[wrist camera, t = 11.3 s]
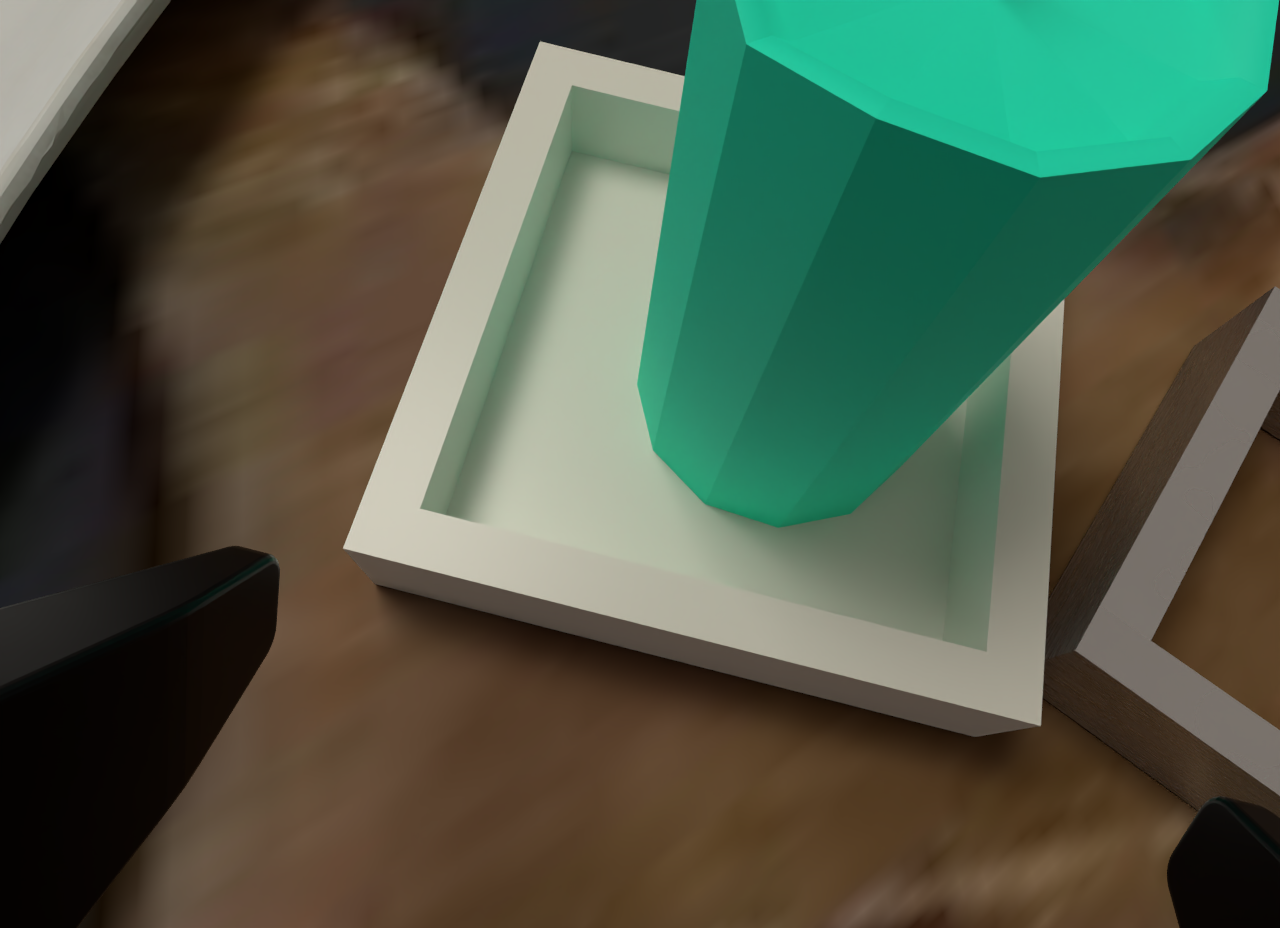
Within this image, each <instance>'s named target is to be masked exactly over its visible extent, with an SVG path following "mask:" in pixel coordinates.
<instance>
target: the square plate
mask: <svg viewBox="0 0 1280 928" xmlns="http://www.w3.org/2000/svg"><path fill="white" fill-rule="evenodd" d="M170 1H171V0H0V244H1V242H2V241H3V239H4V237H5V236H6V234H7V233H8V231H9V229H10V228H11V226H12V225H13V223H14V222H15V220H16V218H17V217H18V215H19V214H20V212H21V210H22V209H23V207H24V206H25V204H26V203H27V201H28V199H29V198H30V196H31V195H32V193H33V192H34V190H35V189H36V187H37V186H38V185H39V183H40V182H41V180H42V179H43V177H44V176H45V175H46V173H47V172H48V170H49V169H50V167H51V166H52V165H53V163H54V162H55V160H56V159H57V157H58V156H59V155H60V153H61V152H62V150H63V149H64V147H65V146H66V145H67V143H68V142H69V140H70V139H71V137H72V136H73V135H74V133H75V132H76V130H77V129H78V127H79V126H80V125H81V123H82V122H83V120H84V119H85V117H86V116H87V115H88V113H89V112H90V110H91V109H92V107H93V106H94V105H95V103H96V102H97V100H98V99H99V97H100V96H101V95H102V93H103V92H104V90H105V89H106V88H107V86H108V85H109V83H110V82H111V81H112V79H113V78H114V76H115V75H116V74H117V72H118V71H119V70H120V68H121V67H122V66H123V64H124V63H125V61H126V60H127V59H128V57H129V56H130V55H131V53H132V52H133V51H134V49H135V48H136V47H137V45H138V44H139V43H140V41H141V40H142V39H143V37H144V36H145V35H146V33H147V32H148V31H149V29H150V28H151V27H152V25H153V24H154V23H155V21H156V20H157V19H158V17H159V16H160V15H161V13H162V12H163V11H164V9H165V8H166V7H167V5H168V4H169V3H170Z"/></svg>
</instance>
